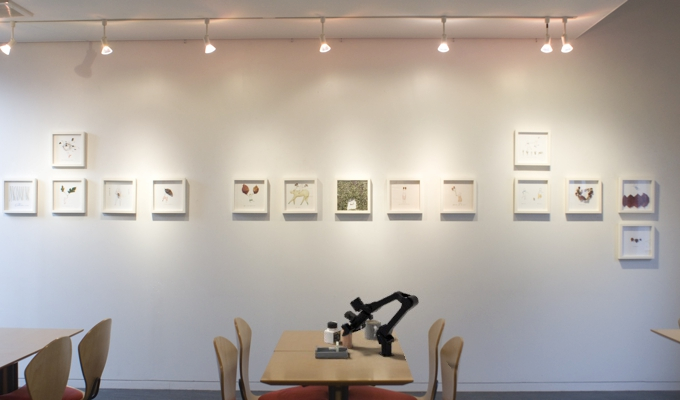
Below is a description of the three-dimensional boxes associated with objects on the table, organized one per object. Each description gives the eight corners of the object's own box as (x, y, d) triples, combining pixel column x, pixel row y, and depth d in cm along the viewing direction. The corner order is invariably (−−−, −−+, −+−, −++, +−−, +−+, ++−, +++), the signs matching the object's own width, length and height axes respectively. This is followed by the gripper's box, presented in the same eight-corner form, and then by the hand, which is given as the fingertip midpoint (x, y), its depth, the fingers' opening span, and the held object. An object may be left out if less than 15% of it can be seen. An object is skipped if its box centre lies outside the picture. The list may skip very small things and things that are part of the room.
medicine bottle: (333, 344, 276) (333, 324, 276) (324, 342, 280) (324, 322, 280) (340, 341, 281) (340, 321, 282) (331, 339, 286) (331, 320, 286)
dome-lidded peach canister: (353, 347, 269) (353, 324, 269) (344, 348, 267) (344, 325, 268) (350, 344, 275) (350, 322, 275) (340, 345, 273) (340, 323, 273)
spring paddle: (338, 351, 259) (338, 341, 259) (338, 355, 252) (338, 345, 252) (328, 351, 259) (328, 341, 259) (328, 355, 252) (328, 345, 252)
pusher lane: (347, 352, 260) (347, 345, 261) (348, 357, 251) (348, 350, 251) (315, 352, 260) (315, 345, 260) (315, 358, 250) (315, 350, 250)
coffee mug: (364, 335, 295) (364, 319, 295) (380, 335, 295) (379, 319, 295) (365, 341, 282) (365, 324, 282) (382, 341, 282) (382, 324, 282)
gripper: (361, 304, 277) (345, 320, 283) (343, 309, 262) (327, 327, 268) (373, 319, 272) (357, 335, 278) (355, 326, 257) (339, 343, 263)
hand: (345, 334), depth 272 cm, fingers closed on dome-lidded peach canister, 6 cm apart
